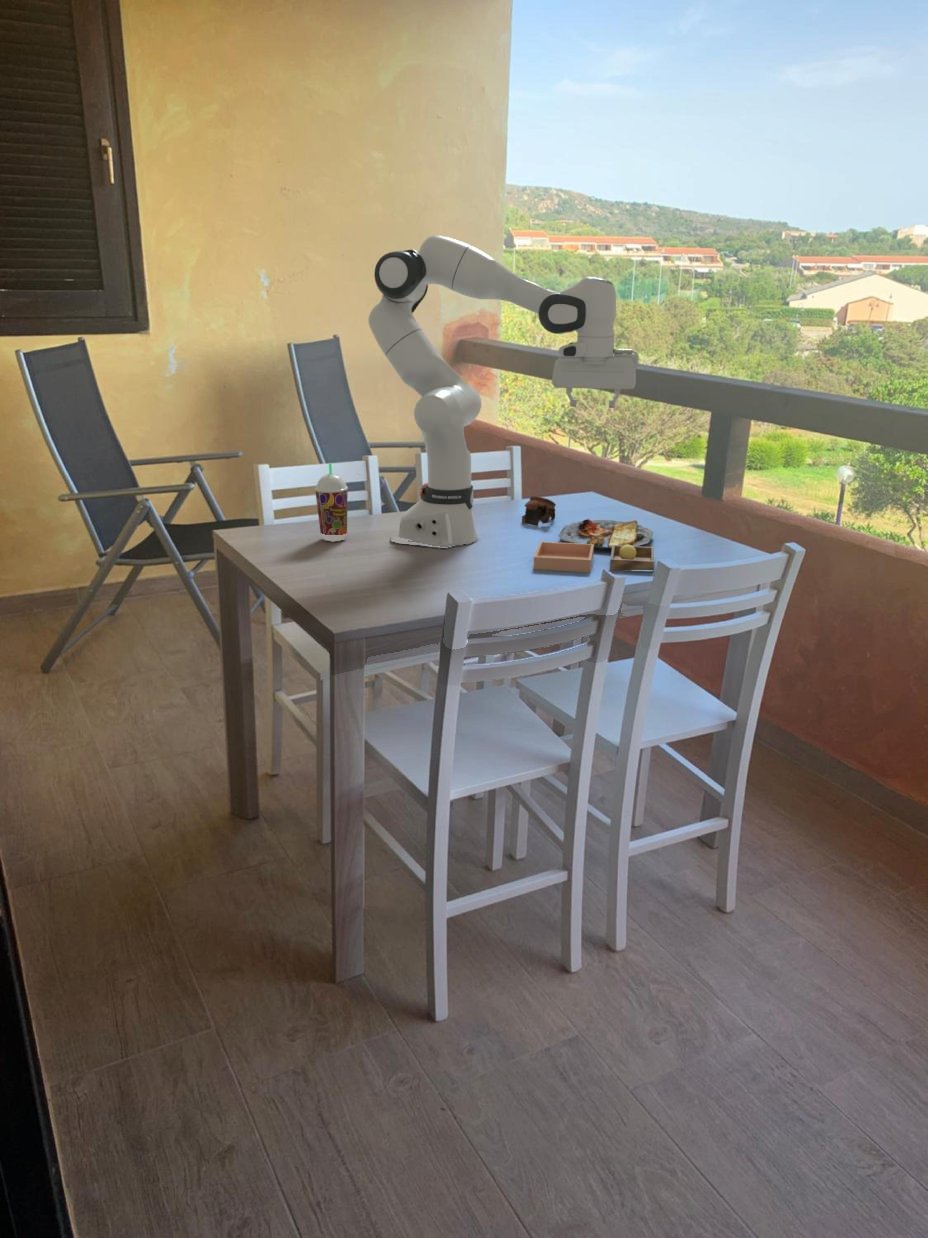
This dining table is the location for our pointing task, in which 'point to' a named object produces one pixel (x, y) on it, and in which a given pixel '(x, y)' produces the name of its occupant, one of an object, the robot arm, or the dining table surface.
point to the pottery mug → (538, 511)
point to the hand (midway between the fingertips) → (592, 407)
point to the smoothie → (332, 504)
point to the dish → (564, 556)
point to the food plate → (606, 533)
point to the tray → (640, 562)
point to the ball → (627, 552)
